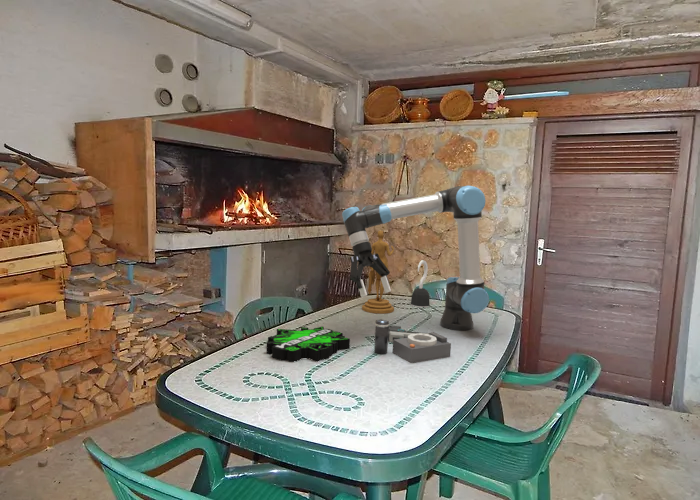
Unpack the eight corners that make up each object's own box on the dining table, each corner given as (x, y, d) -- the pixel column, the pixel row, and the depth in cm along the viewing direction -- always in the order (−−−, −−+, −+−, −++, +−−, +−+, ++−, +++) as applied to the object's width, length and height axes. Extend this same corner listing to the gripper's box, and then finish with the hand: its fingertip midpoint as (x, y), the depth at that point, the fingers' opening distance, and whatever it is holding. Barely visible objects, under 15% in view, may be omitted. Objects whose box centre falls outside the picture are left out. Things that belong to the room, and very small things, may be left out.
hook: (425, 308, 251) (427, 262, 248) (406, 305, 257) (409, 260, 254) (433, 304, 260) (436, 260, 257) (415, 301, 266) (418, 258, 263)
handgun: (435, 336, 202) (436, 347, 188) (384, 332, 205) (381, 342, 191) (435, 327, 202) (436, 337, 187) (384, 323, 205) (381, 332, 190)
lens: (382, 349, 182) (384, 318, 180) (390, 353, 177) (392, 322, 176) (371, 350, 179) (372, 319, 178) (378, 355, 175) (380, 323, 173)
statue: (396, 307, 250) (400, 230, 246) (391, 315, 234) (395, 232, 229) (365, 304, 254) (368, 228, 249) (358, 311, 238) (362, 230, 233)
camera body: (430, 346, 187) (431, 330, 186) (450, 356, 177) (451, 339, 176) (392, 352, 178) (393, 335, 178) (411, 362, 168) (412, 345, 167)
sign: (305, 357, 158) (244, 338, 175) (305, 369, 159) (244, 349, 176) (360, 335, 185) (302, 321, 202) (359, 346, 185) (302, 331, 202)
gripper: (375, 246, 201) (391, 293, 196) (331, 249, 184) (347, 301, 179) (387, 239, 196) (403, 287, 191) (343, 242, 179) (360, 295, 174)
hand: (376, 294), depth 185 cm, fingers open, 13 cm apart
